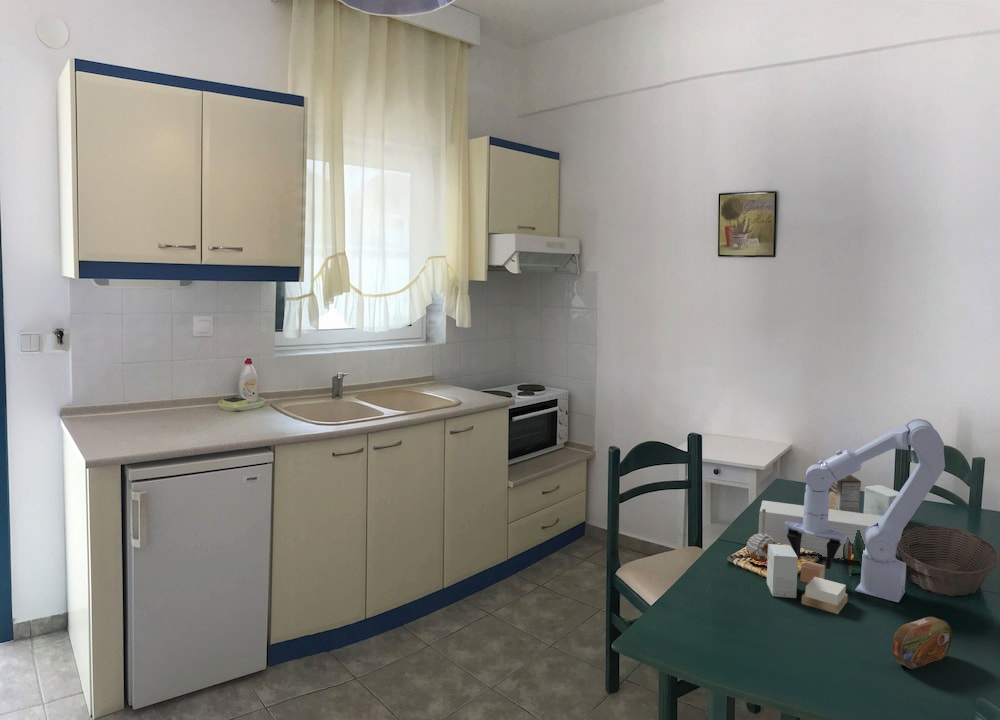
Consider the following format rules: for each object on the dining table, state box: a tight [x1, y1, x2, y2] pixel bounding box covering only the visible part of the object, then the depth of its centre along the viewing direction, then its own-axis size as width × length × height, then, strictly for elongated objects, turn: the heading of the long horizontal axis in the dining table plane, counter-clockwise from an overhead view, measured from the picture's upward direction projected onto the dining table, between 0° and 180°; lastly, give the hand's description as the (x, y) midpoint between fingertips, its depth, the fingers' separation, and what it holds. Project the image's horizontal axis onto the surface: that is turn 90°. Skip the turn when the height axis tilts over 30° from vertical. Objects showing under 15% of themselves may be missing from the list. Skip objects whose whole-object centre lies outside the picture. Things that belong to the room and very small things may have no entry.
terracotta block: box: [799, 560, 826, 584], centre depth 175 cm, size 4×4×4 cm
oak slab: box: [801, 592, 849, 615], centre depth 163 cm, size 8×8×2 cm
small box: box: [766, 544, 799, 599], centre depth 168 cm, size 8×6×10 cm
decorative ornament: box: [746, 509, 776, 562], centre depth 185 cm, size 8×8×15 cm
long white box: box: [758, 500, 882, 560], centre depth 195 cm, size 32×11×11 cm, turn 65°
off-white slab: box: [804, 577, 847, 605], centre depth 162 cm, size 7×7×2 cm
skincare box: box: [863, 484, 900, 516], centre depth 217 cm, size 10×6×10 cm, turn 14°
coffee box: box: [828, 474, 862, 513], centre depth 212 cm, size 9×6×16 cm
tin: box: [891, 616, 953, 670], centre depth 137 cm, size 15×3×8 cm, turn 114°
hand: (812, 563), depth 174 cm, fingers open, 7 cm apart
